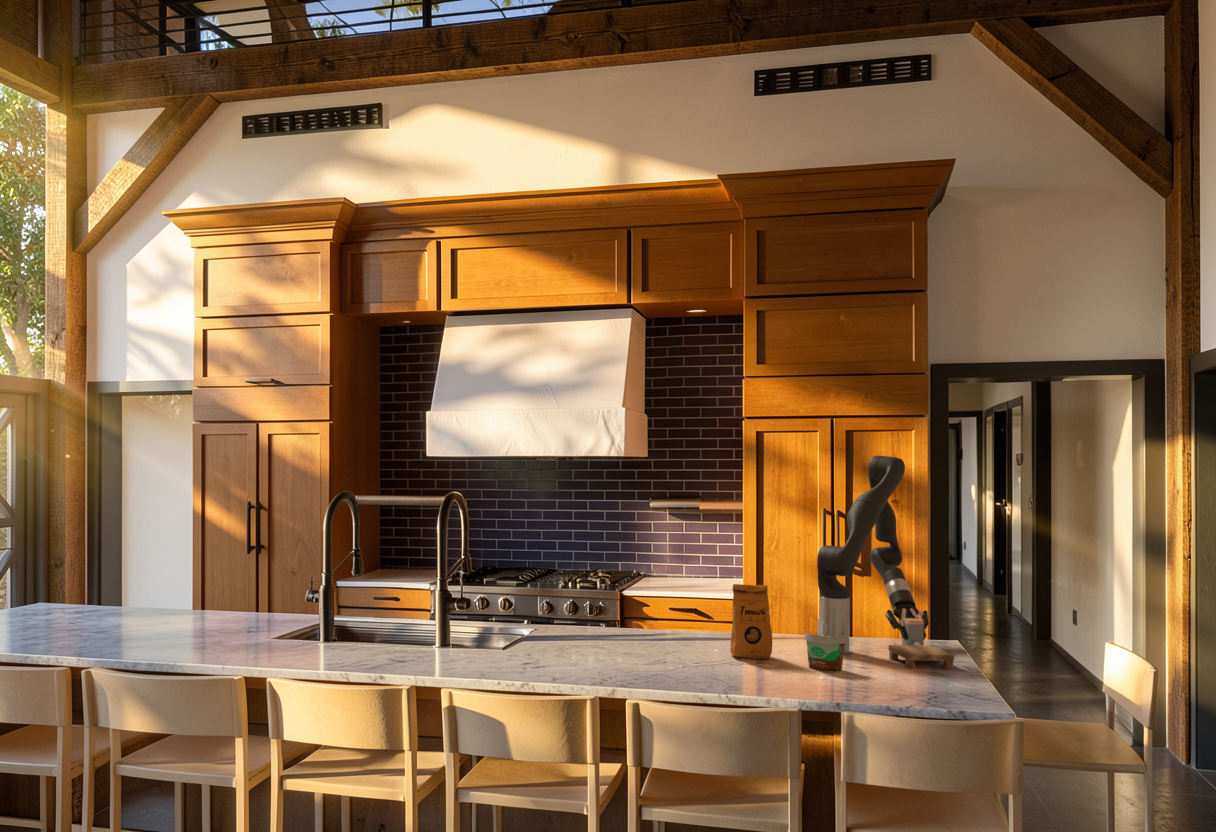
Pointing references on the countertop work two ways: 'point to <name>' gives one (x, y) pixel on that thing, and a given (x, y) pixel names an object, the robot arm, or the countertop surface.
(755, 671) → the countertop surface
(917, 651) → the walnut stand
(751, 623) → the coffee package
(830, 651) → the food container
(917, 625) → the block
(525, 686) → the countertop surface
